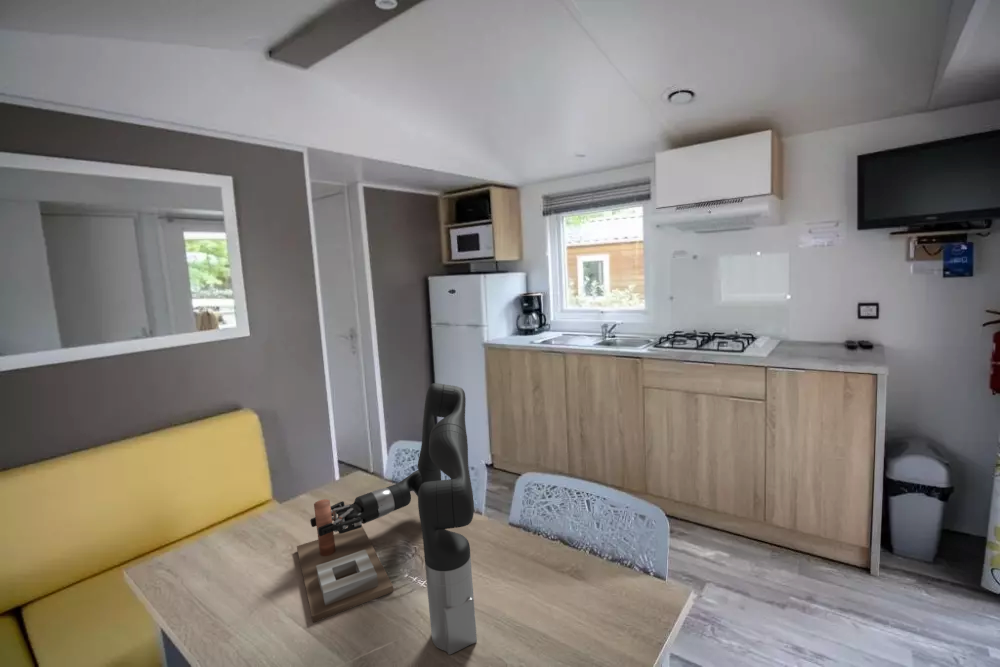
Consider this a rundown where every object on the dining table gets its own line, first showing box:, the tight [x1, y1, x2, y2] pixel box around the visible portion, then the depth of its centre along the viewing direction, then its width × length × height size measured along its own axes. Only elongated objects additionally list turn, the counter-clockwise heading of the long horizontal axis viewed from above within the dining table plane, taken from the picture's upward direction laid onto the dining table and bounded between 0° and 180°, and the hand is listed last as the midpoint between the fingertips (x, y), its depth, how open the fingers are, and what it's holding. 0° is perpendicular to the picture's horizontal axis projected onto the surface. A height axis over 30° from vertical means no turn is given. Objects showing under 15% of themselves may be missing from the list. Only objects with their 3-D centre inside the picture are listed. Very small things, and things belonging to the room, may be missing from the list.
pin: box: [313, 498, 336, 556], centre depth 126 cm, size 4×4×14 cm
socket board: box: [296, 525, 394, 623], centre depth 121 cm, size 32×18×4 cm, turn 29°
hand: (314, 527), depth 125 cm, fingers open, 5 cm apart
